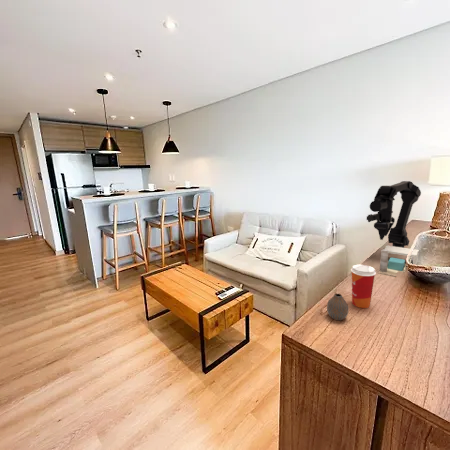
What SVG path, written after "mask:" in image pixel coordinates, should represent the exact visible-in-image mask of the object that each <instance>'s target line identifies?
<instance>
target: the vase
mask: <svg viewBox="0 0 450 450" xmlns="http://www.w3.org/2000/svg"><path fill="white" fill-rule="evenodd" d="M326 311H327V314H328V315H329V317H330V318H331V319H333V320H334V319H335V321H343V320H346V318H347V316H348V315H349V304H348V302H347V301H346V299H345V298H344V297H343V295H342V294H341V293H338V292H337V293H334V294H333V295H332V297H331V298H329V300H328V302H327V304H326Z"/></svg>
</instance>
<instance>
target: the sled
mask: <svg viewBox="0 0 450 450" xmlns="http://www.w3.org/2000/svg"><path fill="white" fill-rule="evenodd" d="M389 254H390V253H389V250H385V249H381V250H380V262H379V271H378V274H379V275H382V276H389V277H393V278H396V277H397V274H398V273H400V272H401V273H405V272H406V271H407V269H408V266H407V267H406V264H407V263H405V266H404V269H403V271H398V270H393V269H388V261H389Z"/></svg>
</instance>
